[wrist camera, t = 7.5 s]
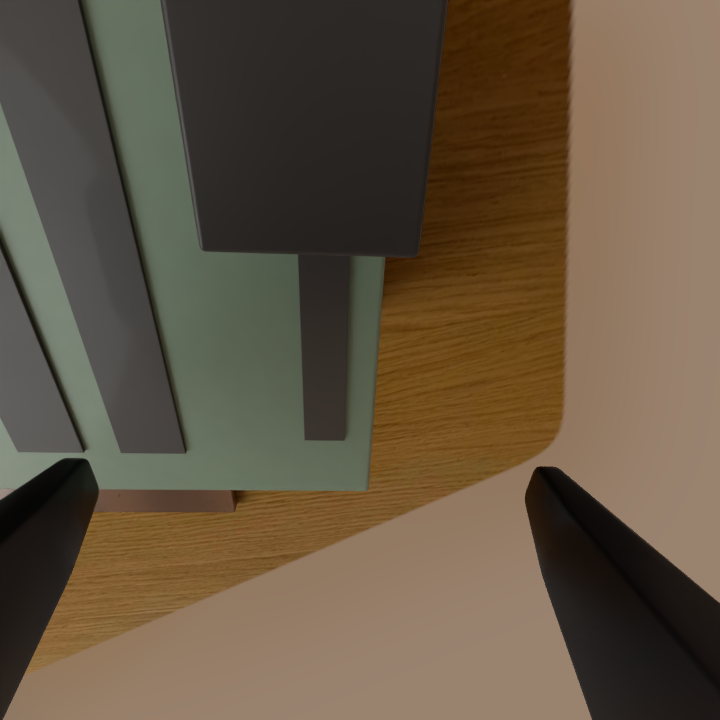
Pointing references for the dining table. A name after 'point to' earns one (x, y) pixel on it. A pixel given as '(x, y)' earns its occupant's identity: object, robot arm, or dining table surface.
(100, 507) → the panel
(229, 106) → the slider
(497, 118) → the dining table surface
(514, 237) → the dining table surface
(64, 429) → the toaster
